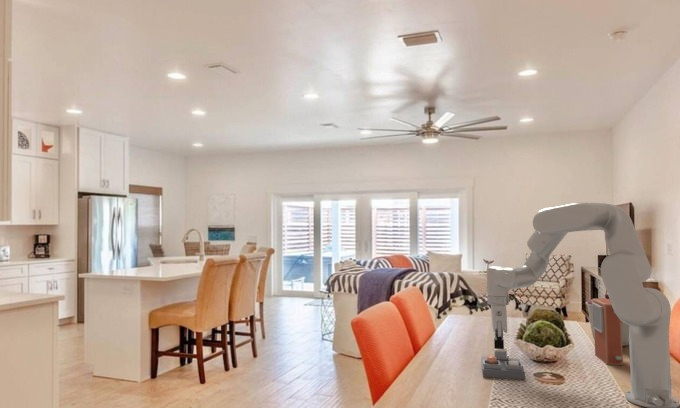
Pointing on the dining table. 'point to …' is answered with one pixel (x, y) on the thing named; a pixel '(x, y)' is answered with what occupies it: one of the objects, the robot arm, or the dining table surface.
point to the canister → (624, 326)
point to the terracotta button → (491, 359)
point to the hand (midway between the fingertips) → (499, 350)
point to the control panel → (607, 332)
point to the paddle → (501, 354)
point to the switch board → (503, 369)
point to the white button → (513, 362)
